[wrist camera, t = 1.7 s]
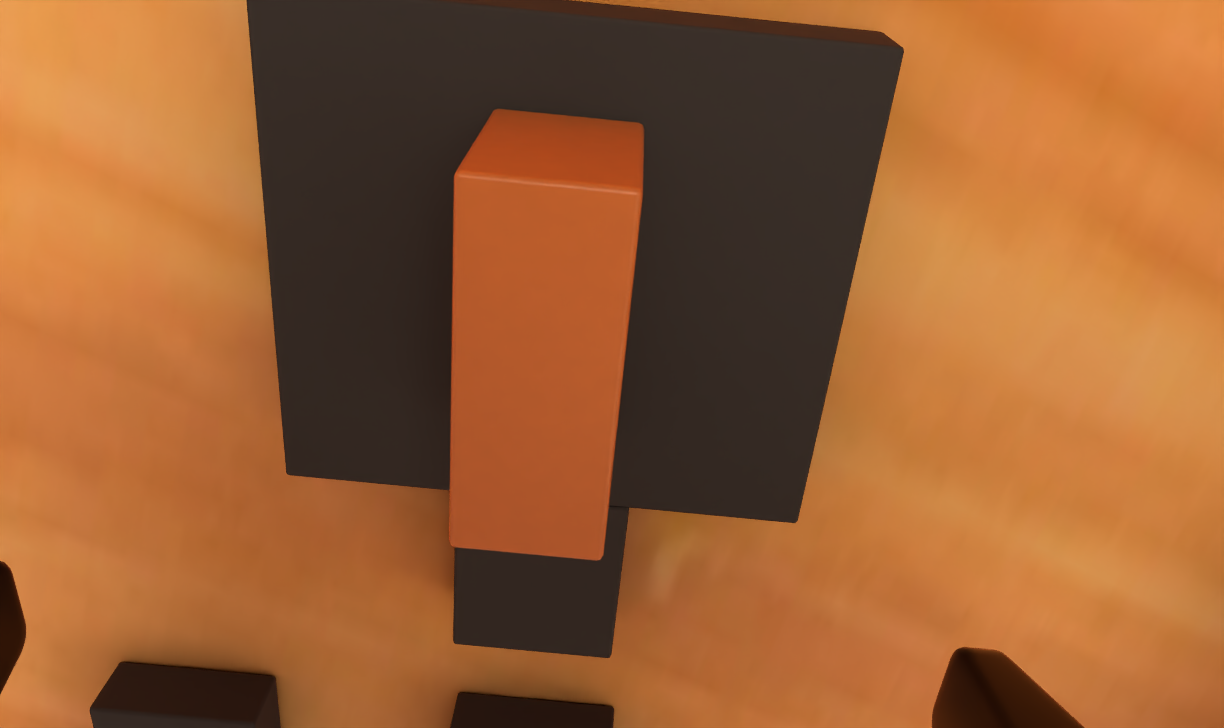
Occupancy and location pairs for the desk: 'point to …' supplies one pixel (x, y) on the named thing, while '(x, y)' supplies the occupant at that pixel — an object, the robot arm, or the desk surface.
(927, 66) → the desk surface
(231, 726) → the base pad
